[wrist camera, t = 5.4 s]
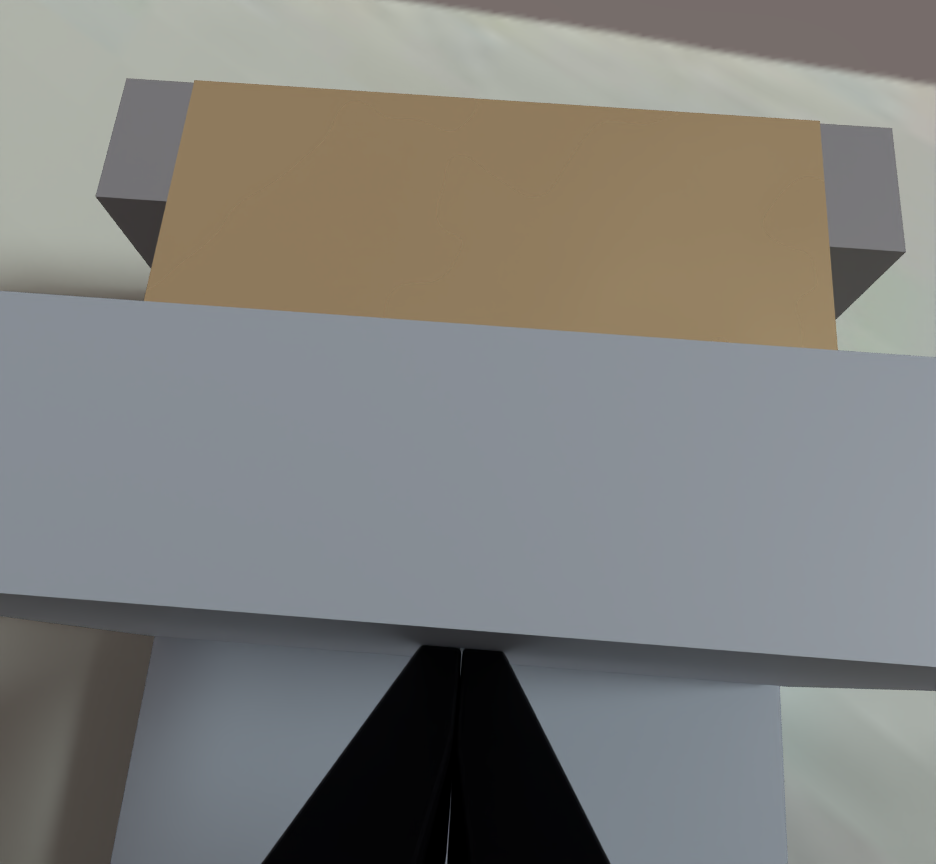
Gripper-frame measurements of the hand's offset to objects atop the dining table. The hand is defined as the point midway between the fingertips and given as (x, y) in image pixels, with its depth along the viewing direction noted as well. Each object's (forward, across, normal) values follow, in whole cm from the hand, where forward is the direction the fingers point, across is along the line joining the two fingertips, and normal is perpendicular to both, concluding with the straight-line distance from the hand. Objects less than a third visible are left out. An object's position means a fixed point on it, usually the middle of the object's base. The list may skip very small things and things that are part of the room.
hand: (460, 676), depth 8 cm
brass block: (+7, 0, +1) cm, 7 cm away
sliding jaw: (+5, 0, +3) cm, 6 cm away
